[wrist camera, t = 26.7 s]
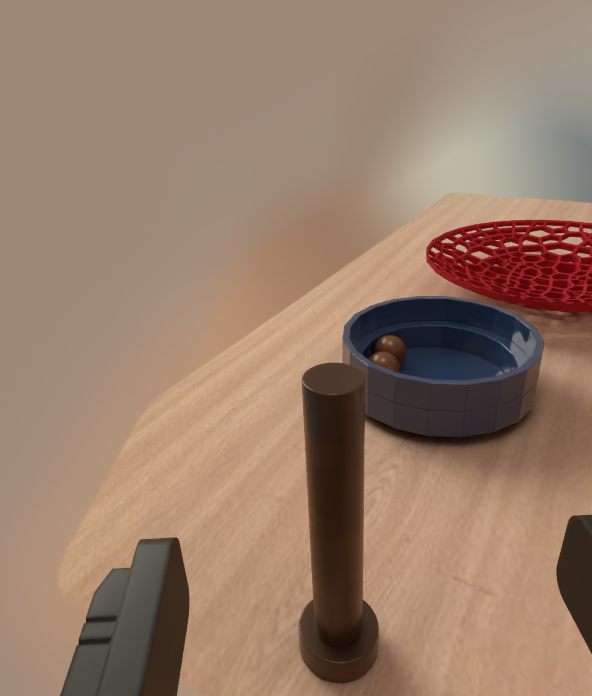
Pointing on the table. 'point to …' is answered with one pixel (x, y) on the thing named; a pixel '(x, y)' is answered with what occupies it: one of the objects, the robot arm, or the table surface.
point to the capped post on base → (336, 525)
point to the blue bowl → (447, 365)
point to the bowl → (520, 264)
